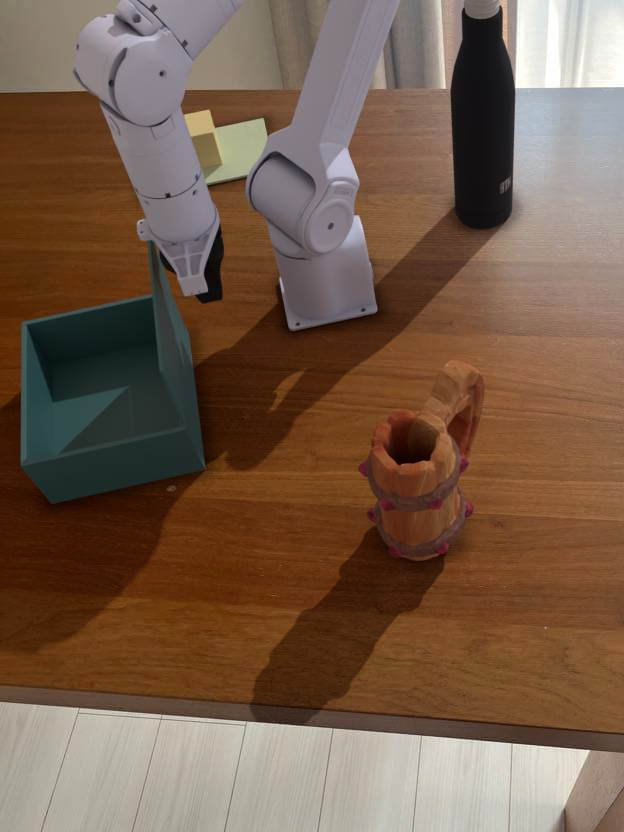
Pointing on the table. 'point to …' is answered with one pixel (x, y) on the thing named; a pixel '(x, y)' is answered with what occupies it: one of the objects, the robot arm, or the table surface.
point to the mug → (425, 466)
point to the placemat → (237, 150)
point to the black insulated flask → (483, 118)
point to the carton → (104, 402)
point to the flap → (165, 329)
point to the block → (204, 138)
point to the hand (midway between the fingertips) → (211, 296)
